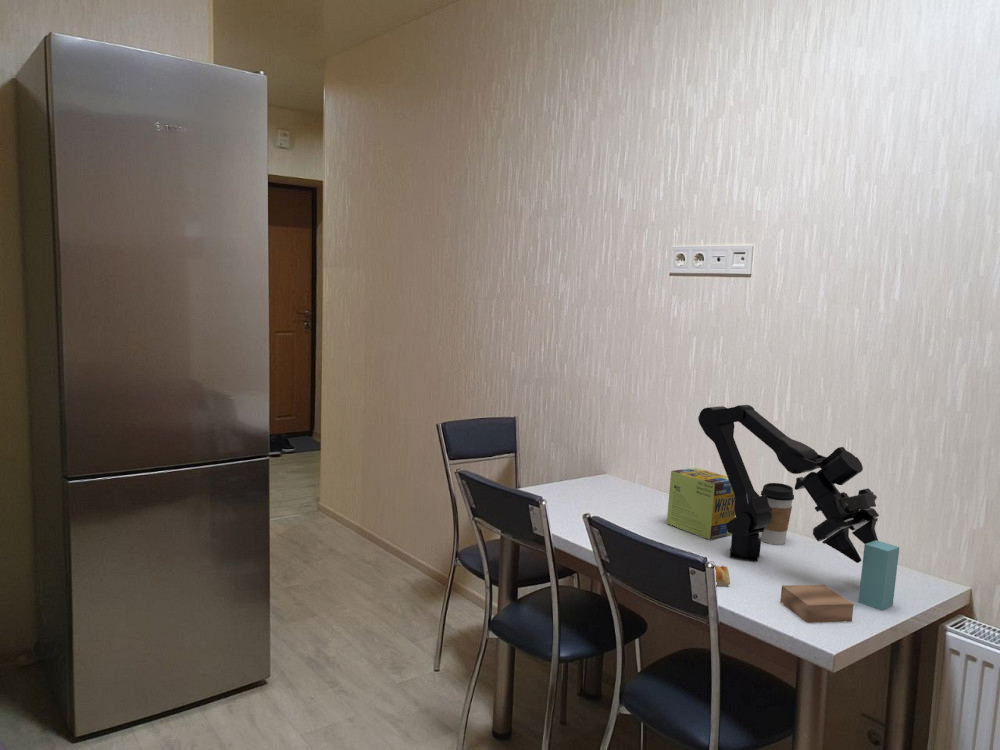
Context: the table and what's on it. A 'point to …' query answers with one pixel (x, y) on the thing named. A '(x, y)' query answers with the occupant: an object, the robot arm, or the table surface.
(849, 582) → the table surface
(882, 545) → the teal pillar
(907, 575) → the table surface
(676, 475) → the protein box
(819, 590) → the walnut block
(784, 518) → the coffee cup
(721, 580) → the pastry
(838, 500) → the robot arm
